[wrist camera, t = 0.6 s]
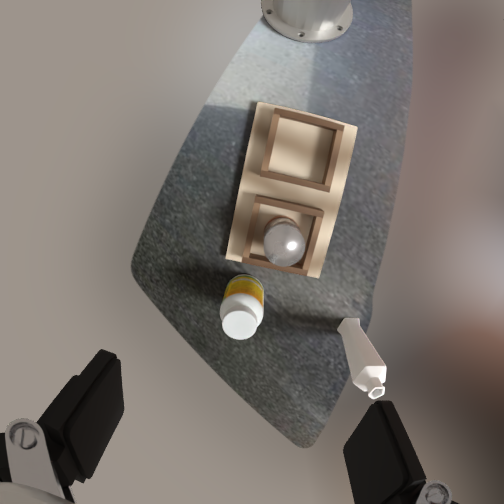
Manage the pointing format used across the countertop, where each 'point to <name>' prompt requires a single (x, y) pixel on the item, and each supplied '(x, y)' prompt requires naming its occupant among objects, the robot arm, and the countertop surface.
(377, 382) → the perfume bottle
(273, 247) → the silver cylinder
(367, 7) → the countertop surface
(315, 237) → the socket board
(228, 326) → the supplement bottle
